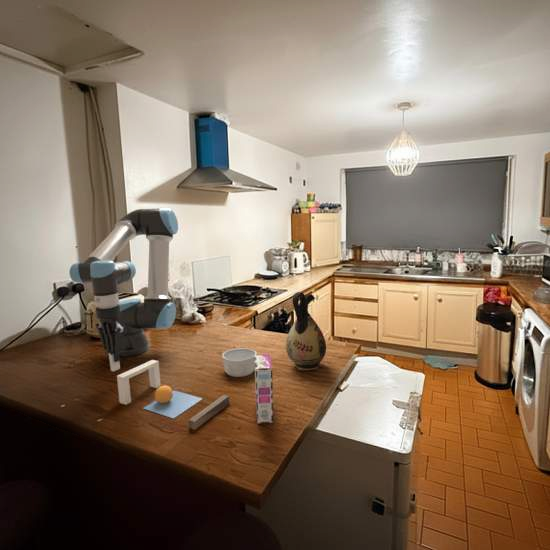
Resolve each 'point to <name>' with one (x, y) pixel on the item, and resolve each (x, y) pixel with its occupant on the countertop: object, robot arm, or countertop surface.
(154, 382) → the bridge
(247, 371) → the ramekin
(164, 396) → the ball
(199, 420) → the stopper
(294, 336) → the ceramic jug
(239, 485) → the countertop surface
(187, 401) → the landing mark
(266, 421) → the candy bar box
